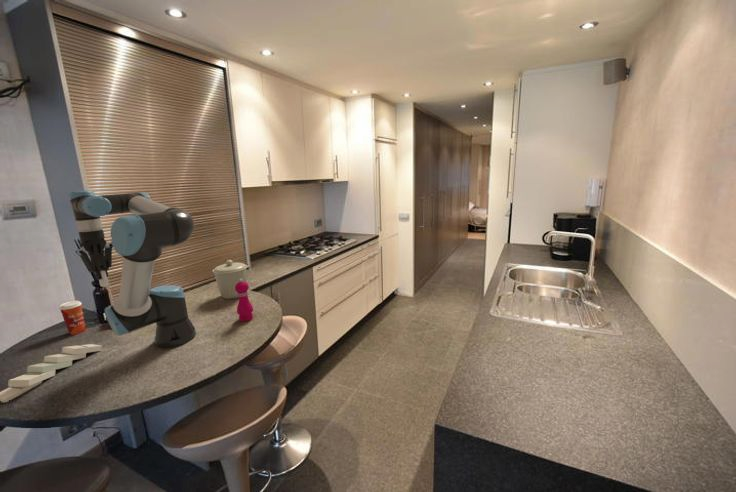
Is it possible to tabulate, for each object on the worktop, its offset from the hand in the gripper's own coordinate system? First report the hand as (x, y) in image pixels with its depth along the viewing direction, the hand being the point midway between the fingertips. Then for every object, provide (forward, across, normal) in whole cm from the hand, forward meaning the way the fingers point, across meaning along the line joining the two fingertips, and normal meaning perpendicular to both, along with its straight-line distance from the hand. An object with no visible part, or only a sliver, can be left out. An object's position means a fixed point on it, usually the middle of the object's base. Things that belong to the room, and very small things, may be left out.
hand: (104, 285), depth 134 cm
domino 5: (+24, +8, 0) cm, 25 cm away
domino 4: (+24, +14, -1) cm, 27 cm away
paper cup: (+24, -1, -26) cm, 36 cm away
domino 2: (+24, +29, +1) cm, 38 cm away
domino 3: (+24, +19, 0) cm, 30 cm away
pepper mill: (+25, -29, +44) cm, 58 cm away
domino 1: (+23, +26, +1) cm, 35 cm away
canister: (+25, -53, +18) cm, 61 cm away
